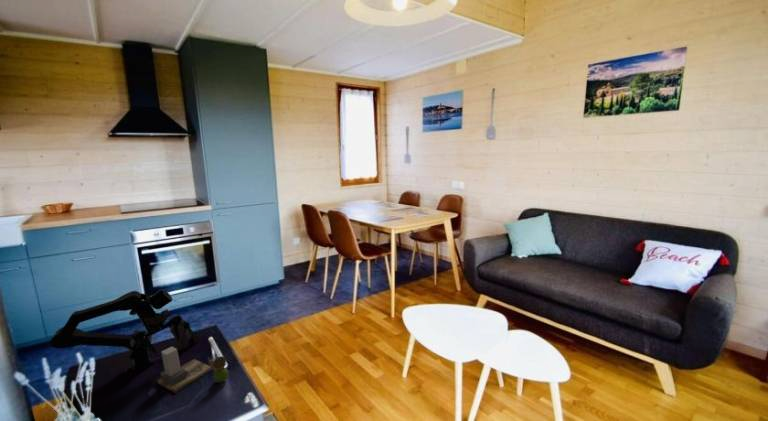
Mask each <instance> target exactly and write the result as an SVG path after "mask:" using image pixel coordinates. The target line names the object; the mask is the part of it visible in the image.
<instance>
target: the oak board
mask: <svg viewBox="0 0 768 421" xmlns="http://www.w3.org/2000/svg"><path fill="white" fill-rule="evenodd" d="M180 367H181V368H183V369H184V370H186V371H187V377H185V378H184V379H182V380H180V381H179V382H177V383H175V384H174V385H170V384H169V383H167V382H166V381H164V380H162V379H161V378H159V379H158V380H157V383H158V384H159V385H161V387H164V388H165V389H168V390H170V391H171V392H173V393H174V394H176V393H178V392H180V390H182V389H184V388H185V387H187V386H189V385H190V384H191V383H194V382H195V381H196V380H198V379H200V378H201V377H203V376H204V375H206V374H208V373H209V372H210V371H211V370H212V371H213V369H212V368H211V367H210V365H209V364H206V363H203V362H202V361H199V360H198V359H195V358H193V359H192V360H190V361H188V362H186V363H184V364H182V365H180Z"/></svg>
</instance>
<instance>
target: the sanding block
mask: <svg viewBox="0 0 768 421" xmlns="http://www.w3.org/2000/svg"><path fill="white" fill-rule="evenodd" d="M178 351H179V350H177V349H176V348H174V347H173V346H170V347H168V348H166V349H164V350H161V352H160V353H161V358H162V364H163V367H164V371H162V372H160V379H162V380H164V381H166V382H167V383H169V384H170V385H174V384H175V383H177V382H179V381H180V380H182V379H184V378H185V377H187V371H186V370H184V369H183V368H181V362H180V358H179V352H178Z"/></svg>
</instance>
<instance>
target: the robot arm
mask: <svg viewBox="0 0 768 421" xmlns="http://www.w3.org/2000/svg"><path fill="white" fill-rule="evenodd" d="M172 301H173V297H172V296H171V294H170V293H169V291H168V292H167V291H166V290H164V289H162V288H160V289H158V290H157V292H155V293H154V294H152V295H151V294H147V293H141V292H140V291H137V290H131V291H130V292H127V293H125V294H123V295H121V296H119V297H117V298H115V299H114V300H110V301H108V302H104V303H100V304H98V305H94V306H90V307H86V308H84V309H82V310H76V311H73V312H72V313H71V315H70V316H69V318H68V319H67V321H66V323H65V325H64V326H63V327H60V328H59V329H57V330H56V331H55V333H54V334H53V336H52V338H51V339H50V346H51V347H52V348H54V349H57V350H58V349H69V348H74V347H78V346H95V347H117V348H126V349H128V350H130V352H129V354H128V355H129V358H130V359H131V360H132V365H130V369H132V370H134V371H136V372H141V371H142V370H144V369H146V368H148V367H149V366H150V367H151V365H154V363H155V362H154V361H153V360H151V359H150V354H149V352H151V353H152V354H154V355H156V354H157V349H156V348H155V347H154V345H153V344H152V340H153V335H155V334H158V333H160V332H161V331H163V330H165V329H167V328H168V329H170V330H169V332H170V333H171V335H172V336H173V338H174V340H175V339H176V340H177V341H178V342H179V341H180V338H179V332H178V326H179V324H180V323H181V322H182V320H183V317H182V316H181V315H179V314H177V315H175V316H173V317H170V316H171V313H170V311H169V310H168V309H167V308H166V309H164V310H162V311H161V314H160V313H158V312H156V311H155V310H161V309H162V308H164V307H165V306H167V305H168V304H170V303H171V302H172ZM122 311H123V312H124V311H130V312H129V316H137V317H138V319H139V320H140V322H141V323H142V324H141V325H142V327H144V328H145V329H146V330H137V329H135V330H134V332H133V333H131V334H121V333H120V334H119V333H101V332H86V331H84V330H81V329H79V328H77V327H78V326H79V324H80V323H82V322H83V323H84V322H87V321H90V320H93V319H96V318H99V317H102V316H105V315H108V314H112V313H115V312H122ZM169 317H170V318H169ZM168 318H169V320H168ZM166 321H167V322H166ZM165 322H166V323H165Z"/></svg>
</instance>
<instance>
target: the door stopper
mask: <svg viewBox="0 0 768 421" xmlns="http://www.w3.org/2000/svg"><path fill="white" fill-rule="evenodd" d="M178 332H179V338H180V341H179V342H178V341H177V340H176V339H175V338H174V339H173V346H172V347H174V348H176V349H177V351H180V352H183V351H184V350H186V349H187V348H190V347H192V346H193V345H195V344H197V343H199V342H200V340H199V338H198V336H197V335H196V334H195V332H194V331H193V329H192V328H191V324H190V322H188V321H185V320H183V319H182V321H181V323H180V324H179V326H178ZM186 337H187V339H186Z"/></svg>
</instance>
